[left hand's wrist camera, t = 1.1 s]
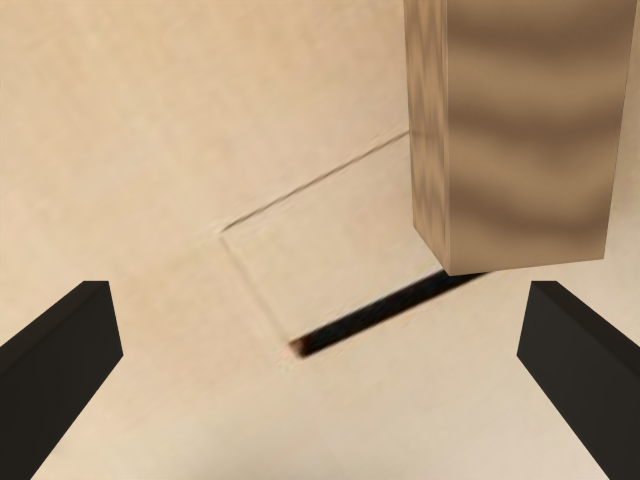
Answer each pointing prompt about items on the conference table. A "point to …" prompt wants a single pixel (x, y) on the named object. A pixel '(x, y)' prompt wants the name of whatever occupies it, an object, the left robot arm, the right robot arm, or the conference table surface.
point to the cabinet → (515, 127)
